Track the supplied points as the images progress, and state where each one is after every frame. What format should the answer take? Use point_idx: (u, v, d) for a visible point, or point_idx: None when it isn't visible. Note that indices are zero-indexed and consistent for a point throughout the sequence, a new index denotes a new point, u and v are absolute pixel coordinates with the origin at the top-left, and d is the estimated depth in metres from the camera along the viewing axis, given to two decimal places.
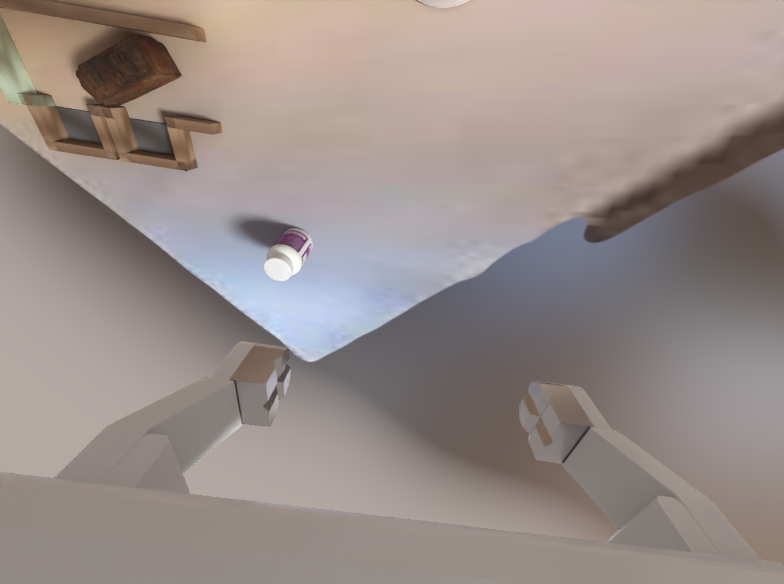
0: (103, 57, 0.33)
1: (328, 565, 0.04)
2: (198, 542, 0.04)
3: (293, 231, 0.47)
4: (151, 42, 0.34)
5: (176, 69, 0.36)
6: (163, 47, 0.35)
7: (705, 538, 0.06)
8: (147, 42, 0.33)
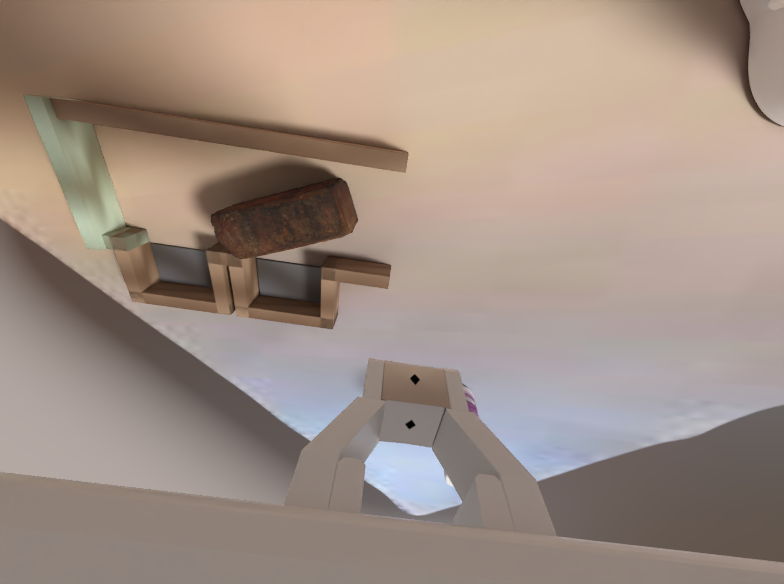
0: (270, 209, 0.21)
1: (328, 565, 0.04)
2: (197, 541, 0.04)
3: None
4: (341, 187, 0.22)
5: (355, 214, 0.25)
6: (347, 187, 0.23)
7: (506, 515, 0.06)
8: (340, 190, 0.21)
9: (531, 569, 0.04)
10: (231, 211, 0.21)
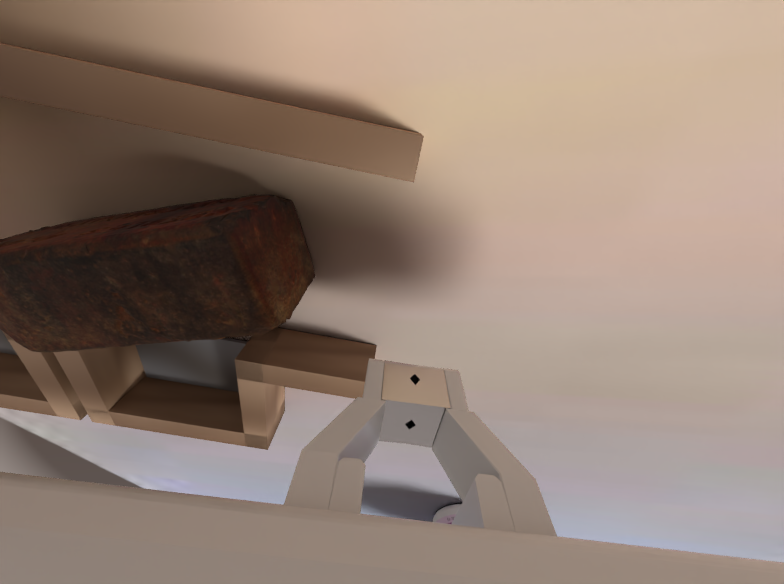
0: (71, 262, 0.08)
1: (328, 565, 0.04)
2: (197, 542, 0.04)
3: None
4: (270, 216, 0.09)
5: (309, 265, 0.12)
6: (292, 213, 0.11)
7: (506, 515, 0.06)
8: (260, 227, 0.09)
9: (531, 569, 0.04)
10: None
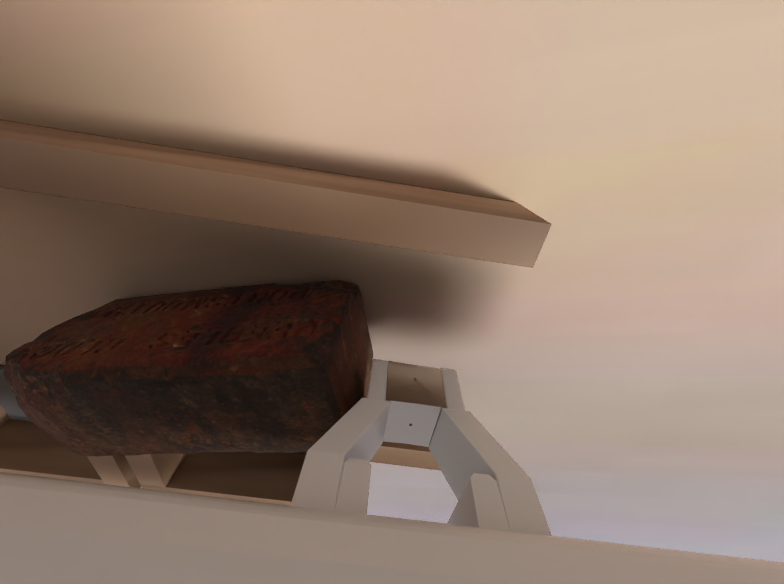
0: (146, 384, 0.07)
1: (328, 565, 0.04)
2: (196, 542, 0.04)
3: None
4: (349, 319, 0.09)
5: (370, 347, 0.12)
6: (359, 300, 0.10)
7: (501, 514, 0.06)
8: (345, 338, 0.08)
9: (531, 569, 0.04)
10: (41, 371, 0.08)
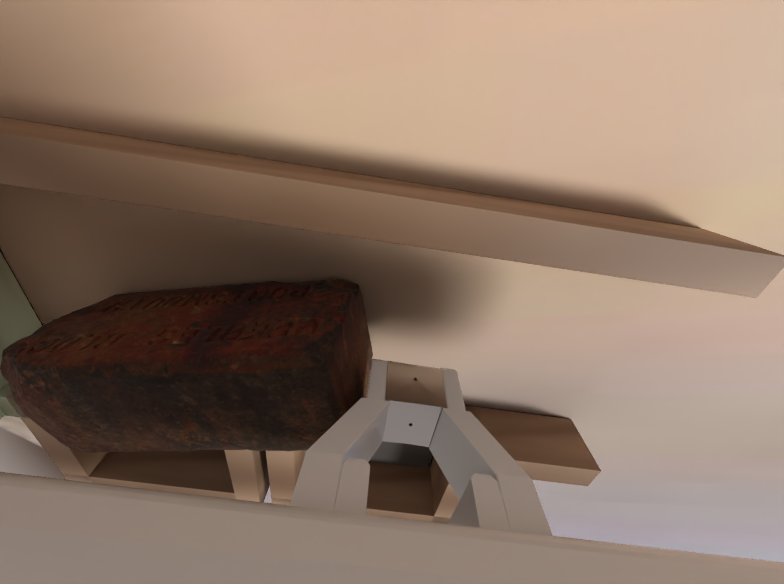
0: (145, 381, 0.07)
1: (328, 565, 0.04)
2: (196, 542, 0.04)
3: None
4: (350, 318, 0.09)
5: (370, 347, 0.12)
6: (360, 299, 0.10)
7: (502, 514, 0.06)
8: (346, 337, 0.08)
9: (531, 569, 0.04)
10: (39, 366, 0.08)
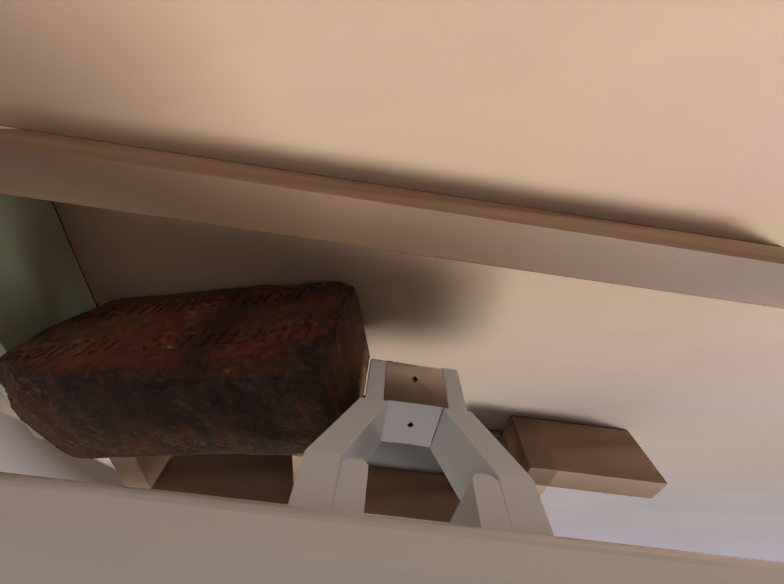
0: (139, 386, 0.07)
1: (328, 565, 0.04)
2: (197, 541, 0.04)
3: None
4: (345, 320, 0.09)
5: (366, 349, 0.12)
6: (356, 302, 0.10)
7: (503, 514, 0.06)
8: (341, 340, 0.08)
9: (531, 569, 0.04)
10: (34, 373, 0.08)
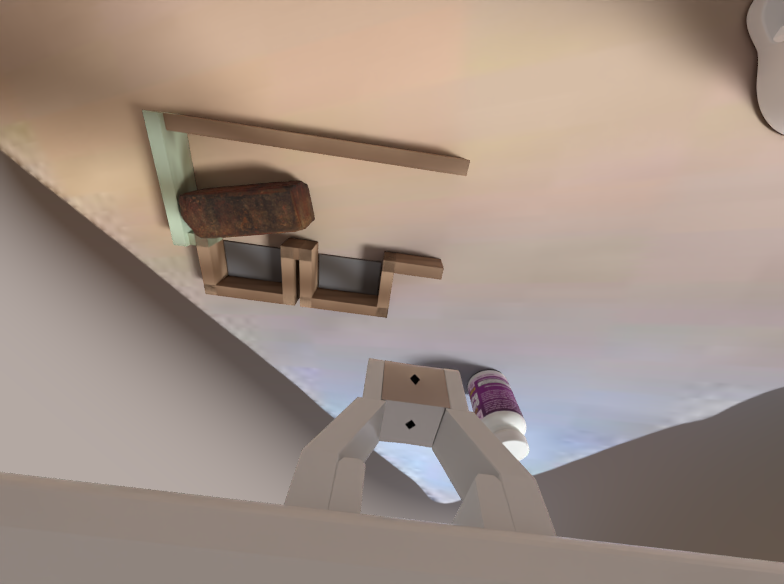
0: (233, 198, 0.24)
1: (328, 565, 0.04)
2: (196, 542, 0.04)
3: (496, 378, 0.36)
4: (301, 188, 0.25)
5: (312, 213, 0.28)
6: (307, 189, 0.27)
7: (506, 514, 0.06)
8: (298, 191, 0.25)
9: (531, 569, 0.04)
10: (198, 195, 0.24)
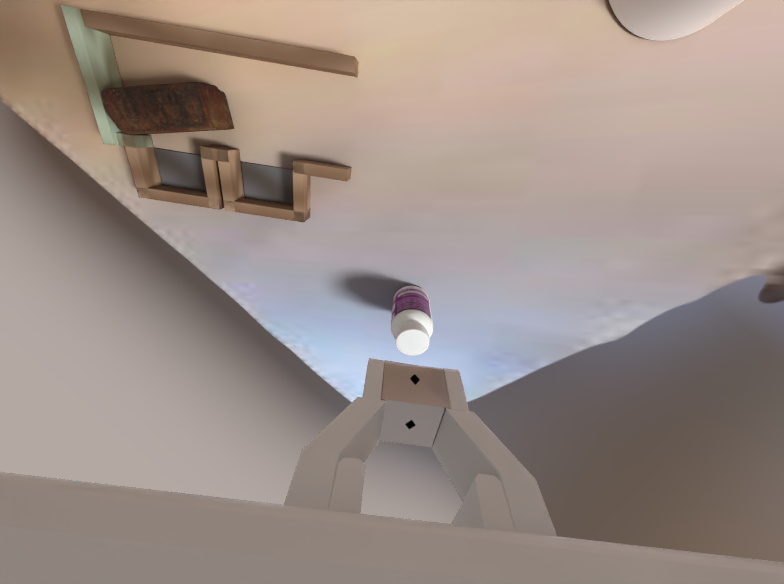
0: (148, 91, 0.27)
1: (328, 565, 0.04)
2: (196, 542, 0.04)
3: (414, 290, 0.39)
4: (213, 91, 0.29)
5: (230, 121, 0.31)
6: (224, 97, 0.30)
7: (506, 514, 0.06)
8: (209, 91, 0.28)
9: (531, 569, 0.04)
10: (117, 87, 0.27)
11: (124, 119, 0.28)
